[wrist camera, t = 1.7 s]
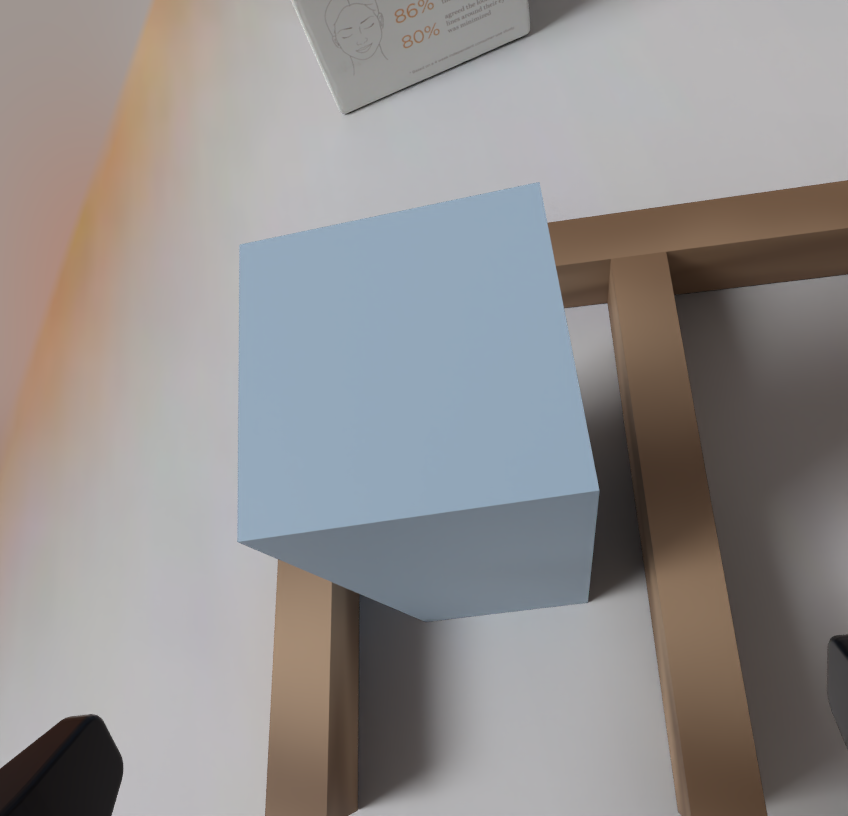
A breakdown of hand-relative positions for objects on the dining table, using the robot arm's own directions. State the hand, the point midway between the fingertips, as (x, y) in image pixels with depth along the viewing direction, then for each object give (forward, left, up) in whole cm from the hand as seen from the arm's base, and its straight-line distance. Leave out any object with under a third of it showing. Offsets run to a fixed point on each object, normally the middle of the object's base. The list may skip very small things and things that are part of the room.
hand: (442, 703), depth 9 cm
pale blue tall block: (+3, -3, -11) cm, 12 cm away
